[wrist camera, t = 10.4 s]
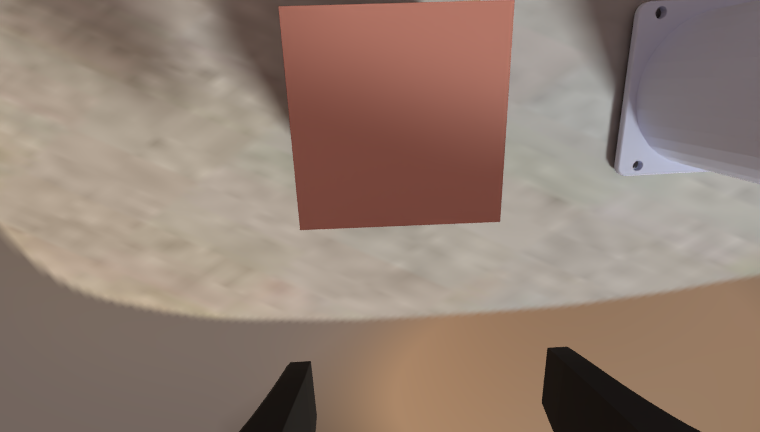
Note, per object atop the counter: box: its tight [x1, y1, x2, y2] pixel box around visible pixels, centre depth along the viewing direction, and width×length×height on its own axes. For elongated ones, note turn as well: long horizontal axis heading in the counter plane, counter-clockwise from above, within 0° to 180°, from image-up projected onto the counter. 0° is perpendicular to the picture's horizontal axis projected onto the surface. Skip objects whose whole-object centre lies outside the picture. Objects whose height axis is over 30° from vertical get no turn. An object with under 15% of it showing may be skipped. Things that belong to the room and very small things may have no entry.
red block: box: [278, 0, 515, 230], centre depth 11 cm, size 4×4×5 cm
